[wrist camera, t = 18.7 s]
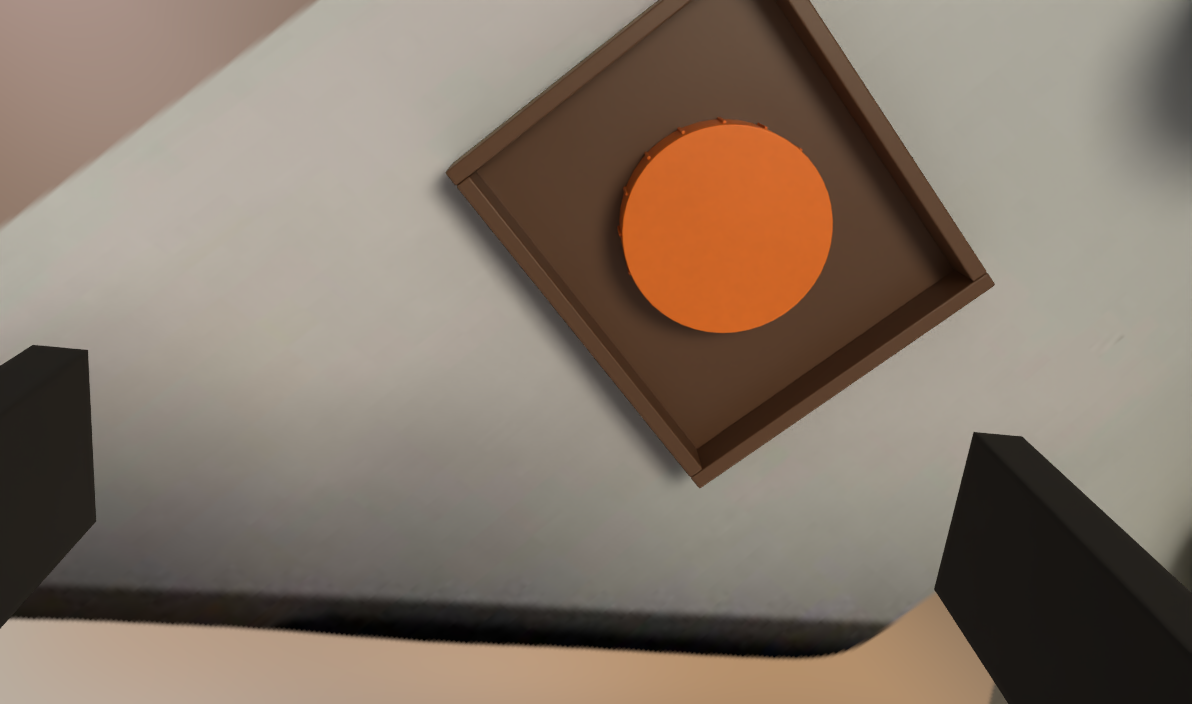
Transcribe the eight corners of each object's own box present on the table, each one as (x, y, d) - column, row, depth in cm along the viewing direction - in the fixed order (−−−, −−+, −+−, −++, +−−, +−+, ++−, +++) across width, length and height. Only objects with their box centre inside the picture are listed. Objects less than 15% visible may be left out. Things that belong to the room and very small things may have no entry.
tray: (452, 163, 37) (444, 172, 35) (746, -70, 35) (759, -77, 33) (692, 462, 41) (699, 489, 39) (970, 269, 39) (996, 285, 37)
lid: (857, 241, 38) (873, 253, 36) (694, 355, 39) (701, 372, 37) (746, 75, 36) (757, 78, 34) (578, 200, 37) (579, 210, 35)
